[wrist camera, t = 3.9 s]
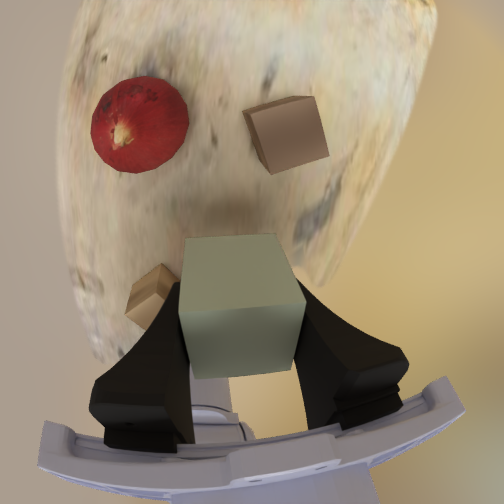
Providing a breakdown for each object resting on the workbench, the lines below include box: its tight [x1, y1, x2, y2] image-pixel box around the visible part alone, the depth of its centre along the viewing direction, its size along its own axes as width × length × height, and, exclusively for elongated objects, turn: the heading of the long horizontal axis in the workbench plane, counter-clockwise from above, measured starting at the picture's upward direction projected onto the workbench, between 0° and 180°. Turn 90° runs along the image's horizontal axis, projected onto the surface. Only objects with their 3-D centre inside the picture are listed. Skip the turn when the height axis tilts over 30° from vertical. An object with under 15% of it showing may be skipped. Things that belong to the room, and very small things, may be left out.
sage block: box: [178, 233, 306, 379], centre depth 12 cm, size 4×4×5 cm
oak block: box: [125, 263, 181, 330], centre depth 23 cm, size 4×4×4 cm
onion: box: [91, 76, 189, 174], centre depth 13 cm, size 6×6×8 cm
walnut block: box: [242, 96, 329, 175], centre depth 17 cm, size 4×4×4 cm
